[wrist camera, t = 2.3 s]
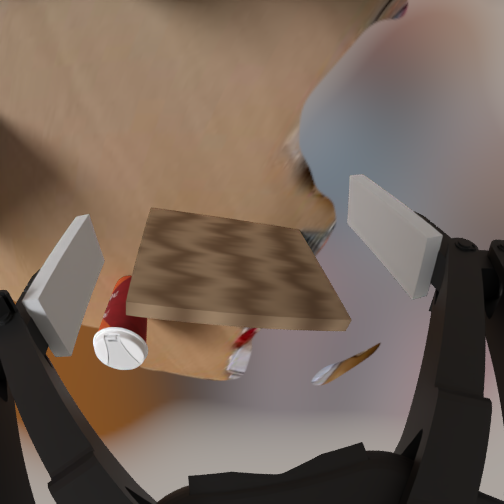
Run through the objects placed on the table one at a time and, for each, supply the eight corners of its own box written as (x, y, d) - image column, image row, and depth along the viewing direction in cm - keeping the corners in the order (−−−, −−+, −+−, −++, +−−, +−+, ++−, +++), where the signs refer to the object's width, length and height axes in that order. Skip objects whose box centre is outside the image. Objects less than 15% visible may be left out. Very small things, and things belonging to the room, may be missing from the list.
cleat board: (144, 280, 48) (129, 384, 32) (150, 207, 42) (125, 301, 26) (275, 294, 54) (309, 391, 37) (298, 229, 48) (351, 320, 31)
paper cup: (104, 272, 46) (82, 335, 35) (149, 267, 47) (138, 332, 36) (116, 309, 51) (103, 373, 39) (159, 305, 52) (153, 371, 40)
